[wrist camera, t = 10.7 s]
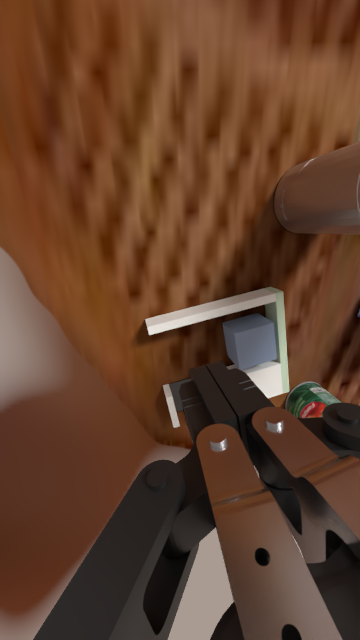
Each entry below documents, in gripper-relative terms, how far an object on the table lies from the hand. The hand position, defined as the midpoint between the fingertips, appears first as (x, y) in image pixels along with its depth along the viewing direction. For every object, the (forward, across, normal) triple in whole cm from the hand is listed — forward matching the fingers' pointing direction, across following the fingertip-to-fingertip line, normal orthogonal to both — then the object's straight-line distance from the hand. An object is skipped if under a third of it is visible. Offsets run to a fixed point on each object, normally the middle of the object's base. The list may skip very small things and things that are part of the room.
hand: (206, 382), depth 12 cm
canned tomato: (+27, -23, +29) cm, 46 cm away
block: (+27, -12, +12) cm, 32 cm away
